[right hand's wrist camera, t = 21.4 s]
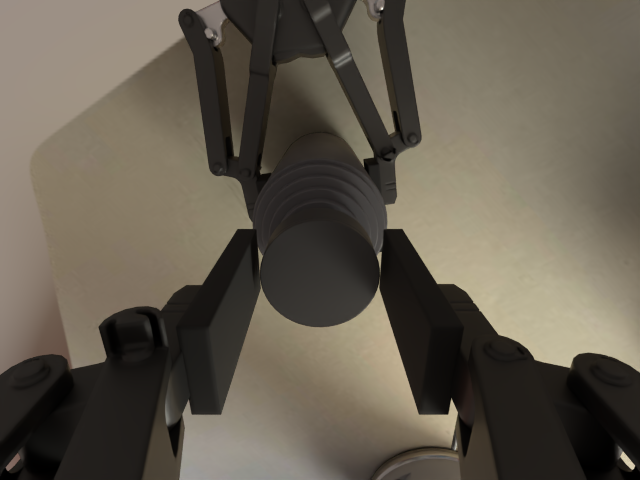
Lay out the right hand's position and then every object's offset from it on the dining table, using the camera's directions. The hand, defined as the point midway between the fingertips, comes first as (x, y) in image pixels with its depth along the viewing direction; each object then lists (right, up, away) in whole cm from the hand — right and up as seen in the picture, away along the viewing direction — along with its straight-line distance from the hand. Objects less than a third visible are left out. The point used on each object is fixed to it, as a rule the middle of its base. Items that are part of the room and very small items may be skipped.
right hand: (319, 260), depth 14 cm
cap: (0, 0, -1) cm, 1 cm away
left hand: (+1, 0, +13) cm, 13 cm away
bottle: (0, +7, +17) cm, 18 cm away
